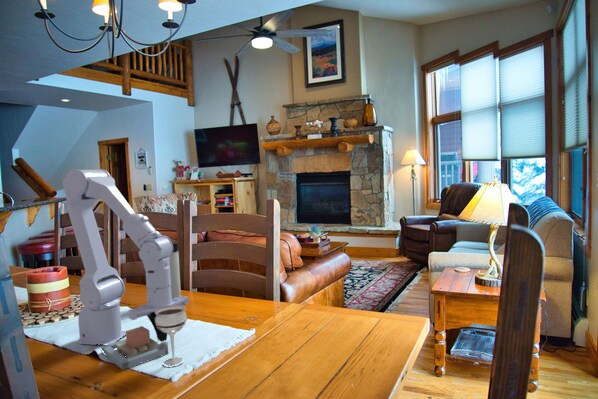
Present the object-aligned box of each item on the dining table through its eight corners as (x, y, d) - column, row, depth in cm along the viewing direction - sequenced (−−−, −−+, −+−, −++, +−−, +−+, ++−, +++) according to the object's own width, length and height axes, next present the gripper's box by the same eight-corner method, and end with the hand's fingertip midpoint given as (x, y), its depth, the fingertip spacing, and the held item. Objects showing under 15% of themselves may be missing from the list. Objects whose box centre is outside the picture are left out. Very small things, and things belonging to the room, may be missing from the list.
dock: (123, 370, 88) (122, 359, 88) (101, 352, 97) (100, 342, 97) (169, 353, 95) (169, 343, 95) (145, 338, 105) (145, 329, 104)
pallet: (128, 363, 92) (127, 352, 91) (116, 353, 97) (116, 344, 96) (158, 352, 97) (157, 342, 96) (145, 344, 102) (144, 335, 101)
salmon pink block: (133, 348, 94) (132, 335, 94) (126, 343, 97) (125, 331, 96) (150, 342, 97) (149, 330, 96) (143, 338, 99) (142, 326, 99)
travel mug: (157, 303, 133) (153, 243, 132) (169, 297, 139) (165, 239, 138) (173, 304, 131) (169, 243, 130) (184, 298, 137) (181, 240, 136)
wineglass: (177, 352, 95) (174, 303, 95) (195, 360, 91) (192, 308, 90) (151, 364, 90) (148, 311, 89) (168, 372, 86) (165, 317, 85)
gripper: (136, 296, 92) (139, 354, 93) (193, 282, 102) (196, 335, 103) (124, 290, 97) (127, 345, 98) (179, 277, 107) (182, 328, 108)
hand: (162, 339), depth 101 cm, fingers closed
